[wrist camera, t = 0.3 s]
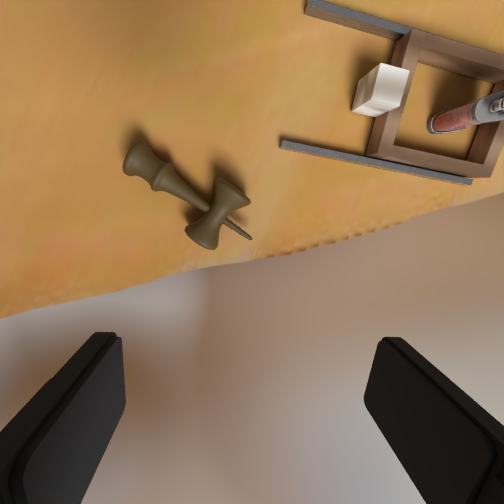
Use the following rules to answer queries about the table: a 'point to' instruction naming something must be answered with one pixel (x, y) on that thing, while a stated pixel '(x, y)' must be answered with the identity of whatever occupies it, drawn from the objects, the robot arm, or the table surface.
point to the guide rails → (384, 30)
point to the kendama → (188, 195)
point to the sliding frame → (396, 91)
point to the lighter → (468, 114)
